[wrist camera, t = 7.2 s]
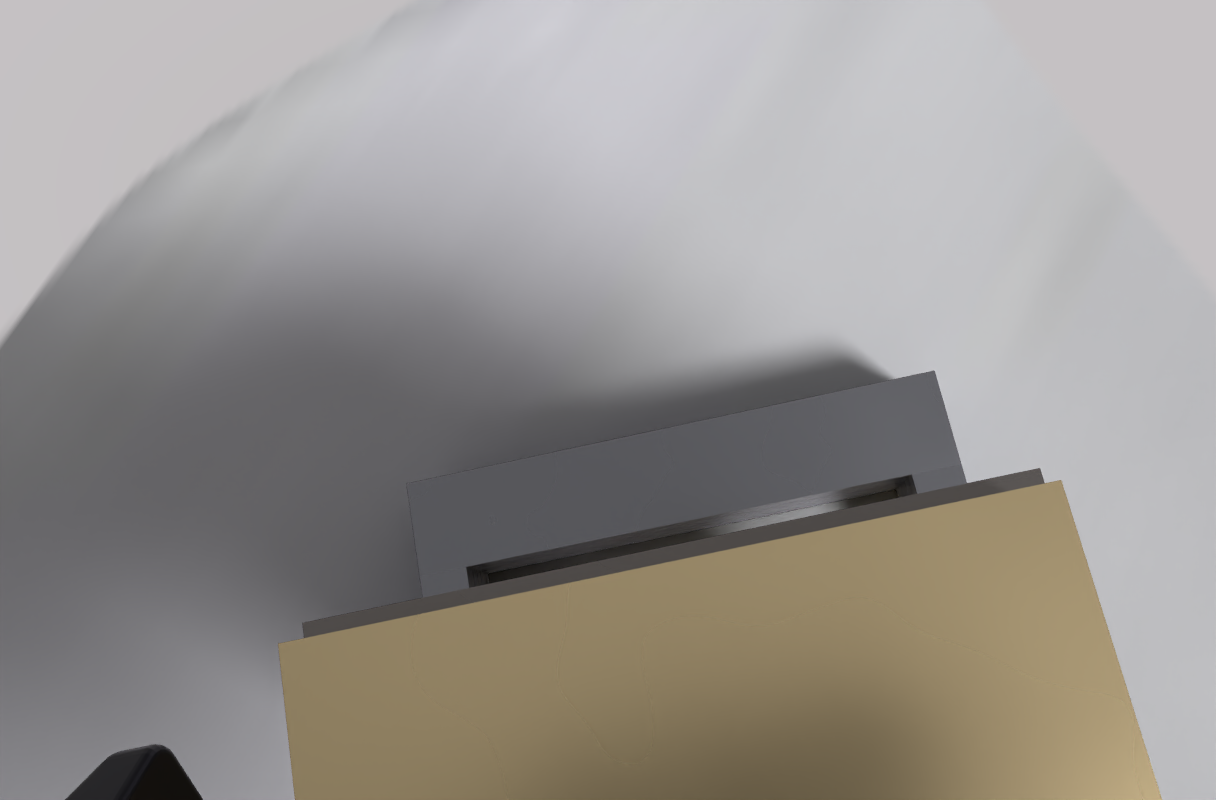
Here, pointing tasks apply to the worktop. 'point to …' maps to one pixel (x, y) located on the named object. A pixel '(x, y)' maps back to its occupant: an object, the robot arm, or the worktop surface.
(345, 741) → the post
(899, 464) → the rail plate
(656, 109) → the worktop surface
